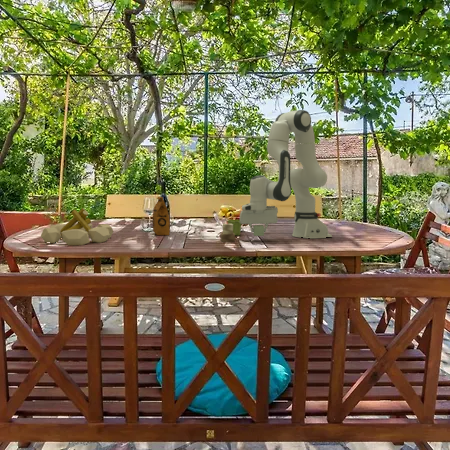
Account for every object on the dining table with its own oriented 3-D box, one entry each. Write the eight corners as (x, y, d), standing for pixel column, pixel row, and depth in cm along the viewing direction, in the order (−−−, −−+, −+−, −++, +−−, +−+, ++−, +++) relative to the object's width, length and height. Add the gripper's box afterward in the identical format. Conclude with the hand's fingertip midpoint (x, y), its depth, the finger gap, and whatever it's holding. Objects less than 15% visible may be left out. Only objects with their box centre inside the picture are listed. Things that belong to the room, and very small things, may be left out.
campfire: (124, 237, 227) (123, 207, 225) (88, 247, 195) (87, 212, 193) (70, 234, 237) (69, 205, 234) (27, 244, 204) (25, 210, 202)
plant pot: (224, 235, 237) (224, 220, 236) (231, 233, 245) (231, 219, 244) (238, 236, 233) (238, 221, 232) (245, 234, 241) (245, 220, 240)
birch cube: (232, 232, 219) (232, 223, 218) (232, 234, 214) (233, 224, 213) (222, 232, 219) (222, 223, 218) (223, 234, 214) (223, 224, 213)
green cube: (262, 234, 221) (262, 225, 220) (263, 235, 216) (263, 226, 215) (253, 234, 221) (253, 225, 220) (254, 236, 216) (254, 226, 215)
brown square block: (233, 240, 220) (233, 232, 220) (234, 242, 214) (234, 234, 213) (220, 240, 220) (220, 232, 219) (221, 242, 213) (221, 234, 213)
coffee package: (153, 236, 233) (153, 197, 230) (152, 232, 245) (151, 196, 242) (171, 235, 235) (170, 197, 232) (168, 232, 247) (168, 196, 244)
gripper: (276, 205, 220) (276, 230, 222) (238, 206, 219) (239, 231, 221) (278, 206, 214) (278, 232, 216) (240, 207, 213) (240, 233, 214)
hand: (258, 232), depth 218 cm, fingers closed on green cube, 5 cm apart
